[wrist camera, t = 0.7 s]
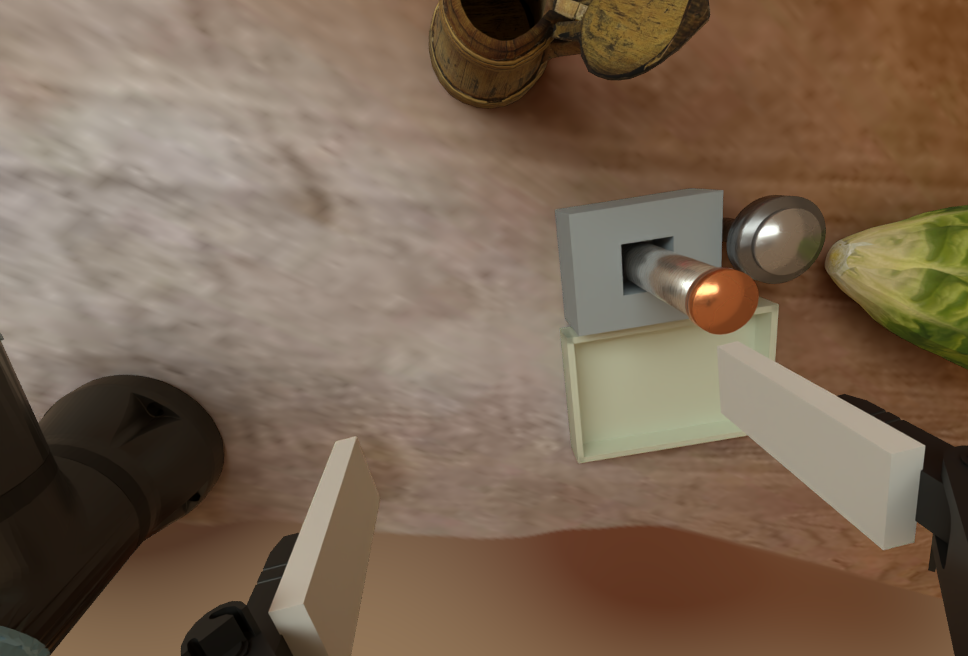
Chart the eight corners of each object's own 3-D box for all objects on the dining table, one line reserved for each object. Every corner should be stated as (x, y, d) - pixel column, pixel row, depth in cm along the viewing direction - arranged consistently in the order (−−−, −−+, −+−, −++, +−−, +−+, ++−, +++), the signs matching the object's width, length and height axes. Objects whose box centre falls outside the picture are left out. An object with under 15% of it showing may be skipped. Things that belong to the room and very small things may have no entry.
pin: (609, 281, 41) (693, 339, 27) (607, 239, 40) (693, 276, 25) (651, 275, 41) (757, 329, 27) (650, 232, 40) (760, 265, 25)
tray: (571, 447, 47) (578, 463, 45) (559, 328, 43) (566, 338, 40) (752, 417, 48) (770, 431, 45) (758, 296, 43) (778, 304, 41)
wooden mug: (571, 146, 38) (667, 124, 21) (414, 83, 36) (379, 0, 19) (616, 30, 35) (767, -102, 18) (450, -46, 33) (447, -276, 16)
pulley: (688, 269, 42) (743, 291, 34) (688, 198, 40) (747, 204, 32) (756, 258, 42) (827, 278, 34) (760, 186, 40) (836, 190, 32)
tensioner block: (565, 318, 43) (579, 336, 38) (554, 209, 39) (568, 214, 35) (690, 298, 43) (720, 313, 38) (690, 188, 40) (723, 190, 35)
